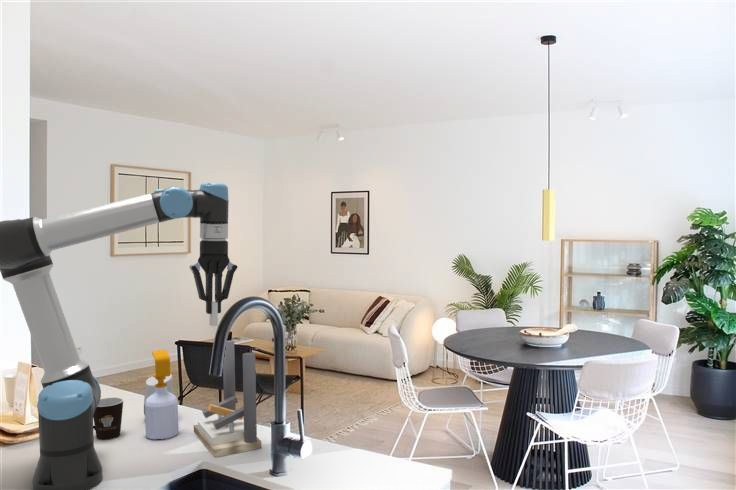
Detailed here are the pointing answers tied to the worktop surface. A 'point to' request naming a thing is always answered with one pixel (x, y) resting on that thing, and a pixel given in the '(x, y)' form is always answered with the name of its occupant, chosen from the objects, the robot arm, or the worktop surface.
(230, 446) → the board
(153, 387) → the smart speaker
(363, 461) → the worktop surface
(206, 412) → the back paddle
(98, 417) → the coffee mug
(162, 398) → the soap bottle
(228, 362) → the posts
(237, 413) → the bar
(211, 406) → the middle paddle
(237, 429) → the block
